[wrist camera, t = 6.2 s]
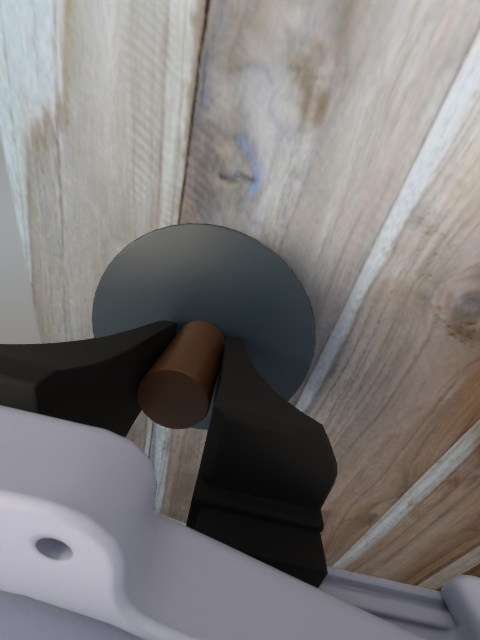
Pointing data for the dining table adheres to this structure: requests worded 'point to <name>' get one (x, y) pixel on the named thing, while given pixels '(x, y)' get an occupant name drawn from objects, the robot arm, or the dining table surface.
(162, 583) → the robot arm
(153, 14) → the dining table surface
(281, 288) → the lid
